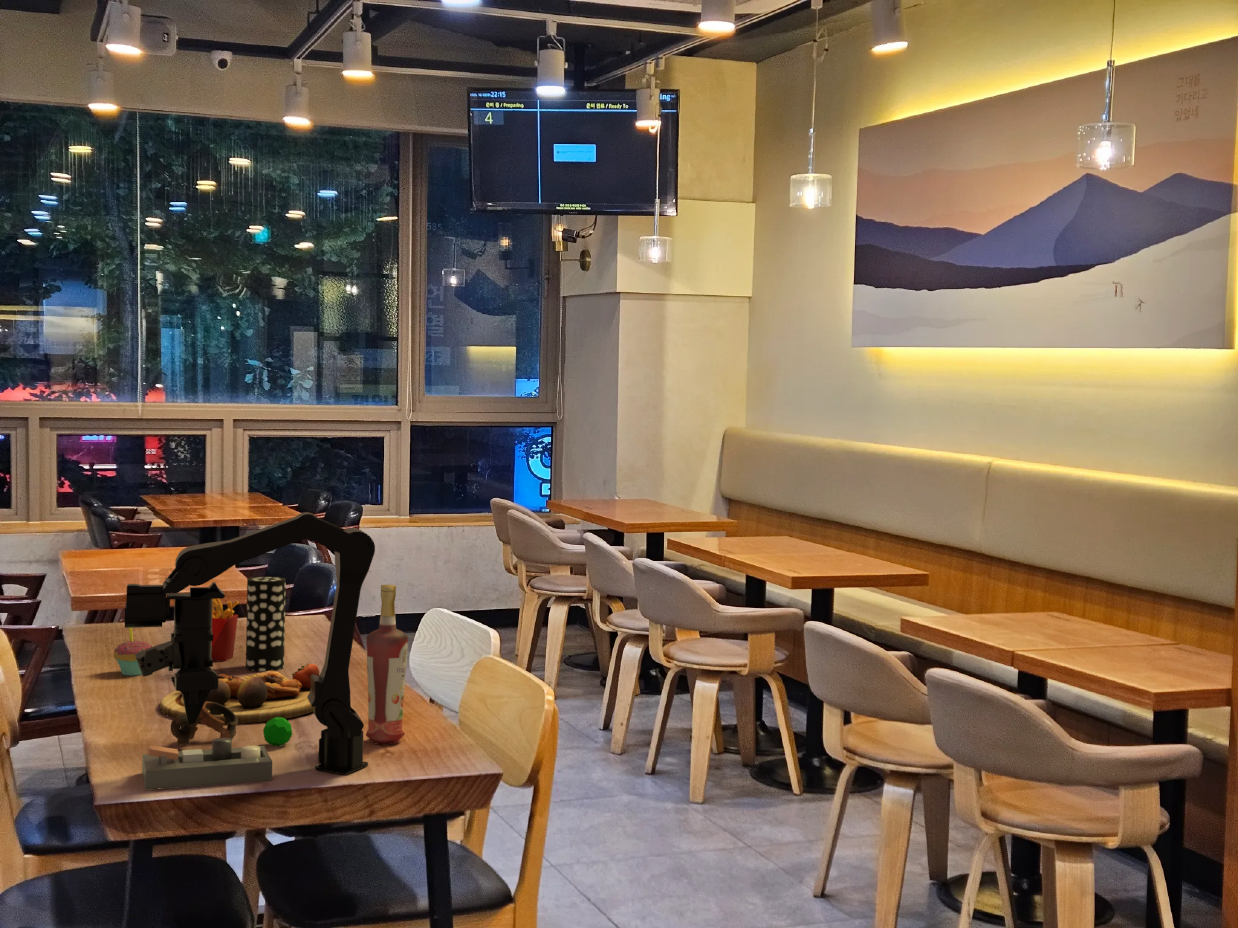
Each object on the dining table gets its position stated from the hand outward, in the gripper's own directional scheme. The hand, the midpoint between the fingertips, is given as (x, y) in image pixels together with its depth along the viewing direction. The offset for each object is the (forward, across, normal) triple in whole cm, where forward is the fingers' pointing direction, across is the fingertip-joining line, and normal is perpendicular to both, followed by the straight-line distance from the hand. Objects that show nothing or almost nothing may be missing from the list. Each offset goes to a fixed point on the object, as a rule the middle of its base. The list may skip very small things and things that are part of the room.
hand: (191, 723), depth 210 cm
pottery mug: (+9, -20, +4) cm, 23 cm away
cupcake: (+9, -85, -4) cm, 85 cm away
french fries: (+9, -97, +13) cm, 98 cm away
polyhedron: (+9, -16, +16) cm, 24 cm away
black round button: (+6, 0, +5) cm, 8 cm away
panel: (+9, 0, +2) cm, 9 cm away
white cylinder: (+8, 0, +9) cm, 12 cm away
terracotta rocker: (+4, 0, -4) cm, 6 cm away
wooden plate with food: (+9, -49, +14) cm, 52 cm away
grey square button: (+8, 0, 0) cm, 8 cm away
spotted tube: (+9, -84, +23) cm, 88 cm away
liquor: (+9, -13, +34) cm, 38 cm away
